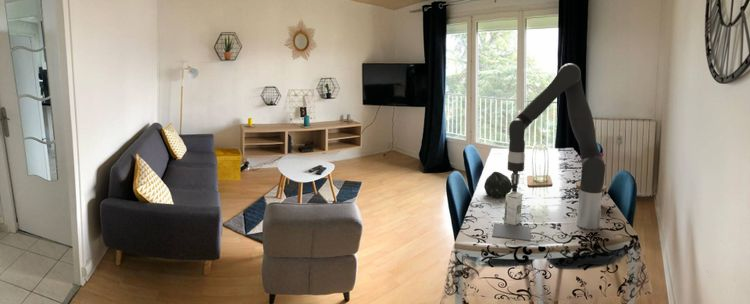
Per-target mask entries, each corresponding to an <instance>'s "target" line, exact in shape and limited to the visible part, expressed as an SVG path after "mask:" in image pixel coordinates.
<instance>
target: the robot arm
mask: <svg viewBox="0 0 750 304" xmlns="http://www.w3.org/2000/svg"><path fill="white" fill-rule="evenodd" d="M563 92H564V93H565V96H566V105H567V113H568V119H569V122H570V126H571V130H572V132H573V135H574V138H575V139H576V141H577V144H578V146H579V152H580V156H581V158H580V161H581V175H580V182H581V183H580V192H579V195H578V205H577V215H576V216H577V217H576V226H577V225H578V226H577V227H578V228H581V227H582V228H581V229H584V228H586V229H585V230H591V229H593V230H596V229H595V228H599V229H600V226H601V225H600V224H601V215H602V207H601V206H602V201H601V198H602V199H603V197H602V188H603V184H604V183H605V182H604V181H605V175H606V166H605V165H606V164H605V161H604V159H603V157H601V154H600V153H601V152H600V150H599V147H598V144H597V137H596V127H595V122H594V121H595V120H594V118H593V114H592V111H591V108H590V105H589V102H588V100H587V97H586V94H585V93H584V88H583V82H582V72H581V69H580V67H579V66H578V65H577V64H575V63H573V62H571V63H570V62H569V63H565V64H564V65H562V66H561V67H560V69H559V70H558V72H557V74H556V75H555V77H554V78H553V80H552V81H551V82H550V83H549V84H548V85H547V86H546V87H545V89H544V90H542V91H541V92H540V93H539V94H538V95H537V96H536V97H534V98H533V100H531V102H529V104H527V106H526V107H524V109H523V111H521V112H520V113H519V114H518V115H517V116H516V117H515V118H513V120H512V121H511V122H510V124H509V127H508V128H509V129H508V133H509V134H508V135H509V143H508V155H507V167H506V168H507V170H508V171H510V172H511V173H510V181H511V184H512V189H511V191H513V192H518V185H519V182H520V181H519V180H520V177H521V176H520V173H521V172H523V171H525V158H526V155H525V147H526V146H525V145H526V142H525V141H526V140H525V132H526V131H525V130H526V129H528V127H529V126H530V125H531V124H532V123H533V122H534V121H535V120H537V119H538V118H539V117H540V116H541V115H542V114H543V113H544V112H545V111H546V110H547V109H548V108H549V106H551V104H552V103H553V102H554V101H556V99H557V98H558V97H559V96H560V95H561V94H562V93H563ZM519 172H520V173H519ZM604 185H605V184H604Z"/></svg>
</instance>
